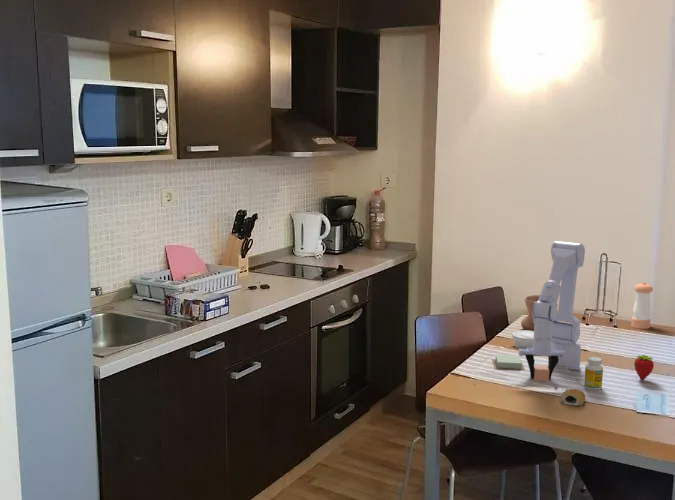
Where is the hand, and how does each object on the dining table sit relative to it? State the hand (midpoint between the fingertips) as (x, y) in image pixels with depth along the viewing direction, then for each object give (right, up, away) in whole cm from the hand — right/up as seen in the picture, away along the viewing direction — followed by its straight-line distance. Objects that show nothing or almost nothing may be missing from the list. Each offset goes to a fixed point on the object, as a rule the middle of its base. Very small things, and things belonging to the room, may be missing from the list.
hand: (540, 377), depth 228 cm
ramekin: (+5, +4, +36) cm, 37 cm away
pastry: (+5, -5, -16) cm, 18 cm away
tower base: (-7, 0, +13) cm, 15 cm away
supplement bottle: (+16, -3, -5) cm, 16 cm away
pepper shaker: (+61, +9, +66) cm, 90 cm away
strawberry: (+35, -1, +2) cm, 35 cm away
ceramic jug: (+16, +8, +57) cm, 60 cm away
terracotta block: (0, -2, 0) cm, 2 cm away
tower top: (-7, +2, +13) cm, 15 cm away
